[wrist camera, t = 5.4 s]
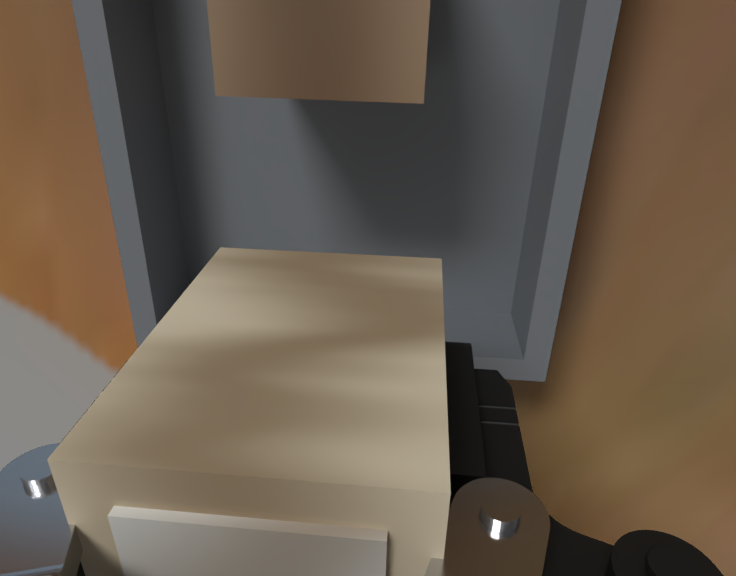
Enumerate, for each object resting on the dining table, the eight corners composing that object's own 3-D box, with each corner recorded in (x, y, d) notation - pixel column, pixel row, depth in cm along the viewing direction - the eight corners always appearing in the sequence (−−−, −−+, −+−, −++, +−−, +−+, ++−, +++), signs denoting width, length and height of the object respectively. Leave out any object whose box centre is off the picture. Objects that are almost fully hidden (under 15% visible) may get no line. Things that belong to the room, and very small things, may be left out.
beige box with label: (441, 258, 11) (451, 504, 6) (428, 433, 13) (425, 733, 8) (220, 247, 12) (39, 469, 6) (240, 419, 14) (116, 697, 8)
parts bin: (618, -198, 15) (671, -251, 12) (527, 325, 22) (545, 381, 19) (105, -200, 16) (23, -250, 12) (178, 303, 23) (139, 354, 20)
